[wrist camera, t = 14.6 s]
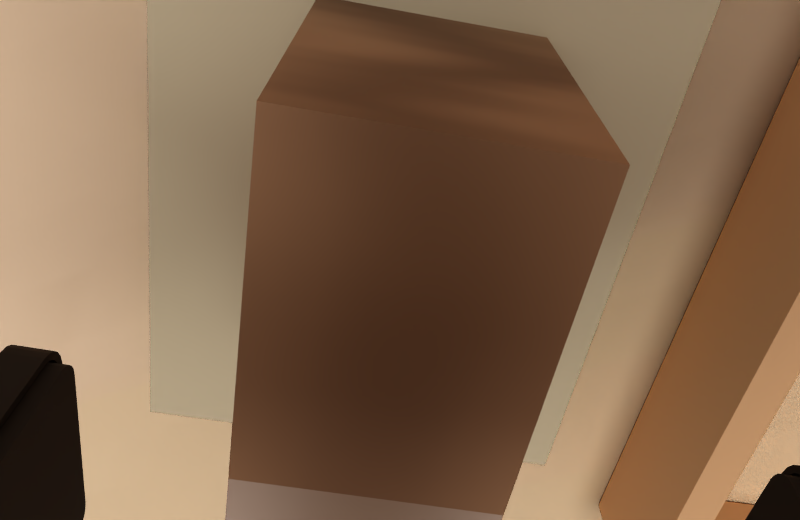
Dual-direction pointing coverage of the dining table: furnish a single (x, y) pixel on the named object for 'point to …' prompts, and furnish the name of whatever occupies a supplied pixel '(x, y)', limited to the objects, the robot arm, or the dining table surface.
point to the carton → (724, 351)
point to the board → (233, 149)
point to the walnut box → (409, 265)
